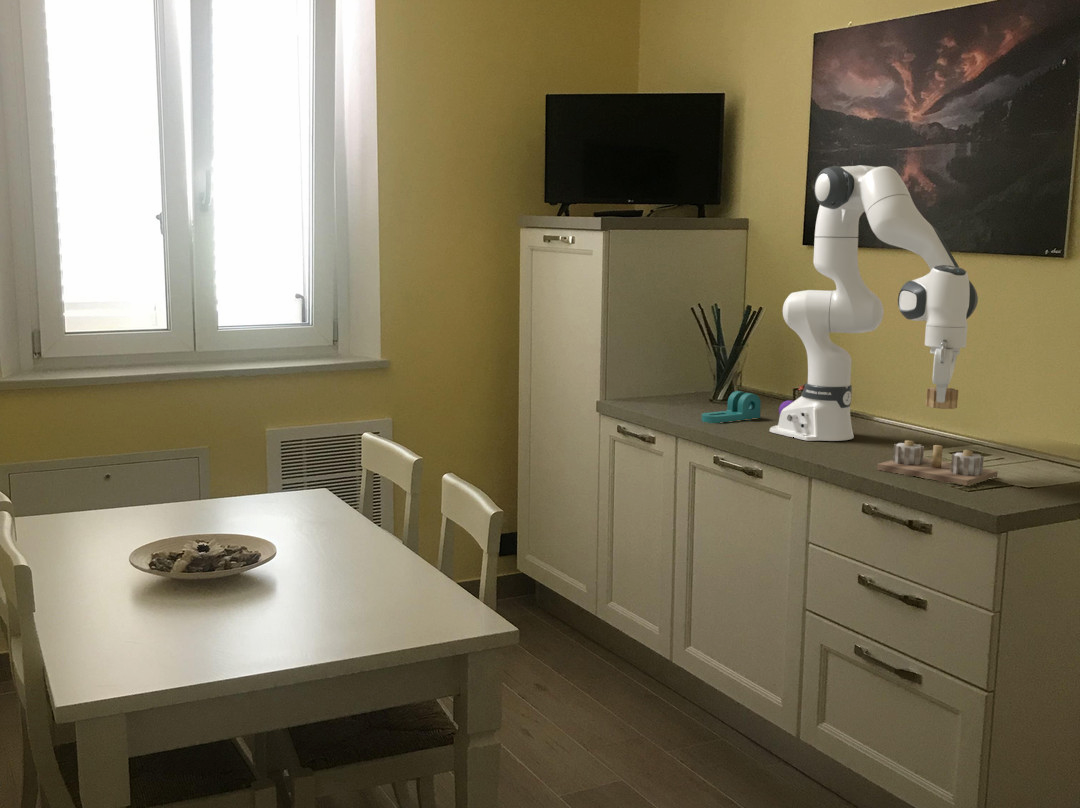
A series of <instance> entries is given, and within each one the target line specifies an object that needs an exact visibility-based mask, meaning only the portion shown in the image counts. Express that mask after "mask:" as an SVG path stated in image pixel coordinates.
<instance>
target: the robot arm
mask: <svg viewBox="0 0 1080 808" xmlns="http://www.w3.org/2000/svg"><path fill="white" fill-rule="evenodd" d="M814 181H815V182H814V186H813V191H814V197H815V200H816V202H817V203H818V205H819V207H818V210H817V215H816V221H815V229H814V242H813V245H814V246H813V266H814V268H815V270H816V271H817V273H820V275H823V276H824V277H826V278H828V279H830V280H832V281H833V282H834V284H835V288H836V289H835V290H826V289H825V290H820V289H818V290H817V289H807V290H800V291H795V292H790V294H789V295H788V296H787V298H786V299H785V300H784V302H783V305H782V318H783V320H784V322H785V324H786V325H787V327H789V328H790V329H791V330H792V331H794V332H795V333H796V334H797V336H798V337H799V338H800V340H801V341H802V344H803V346H804V348H805V350H806V351H805V352H806V357H807V382H806V383H804V384H803V385H799V386H798V387H799V388H798V389H797V390H798V391H802V392H801V393H800V395H801V396H799V397H798V398H796V399H795V400H793V401H794V402H792V403H791V404H789V405H788V406H787V407H785V408H784V409H783V410H782V411H781V414H779V418H778V423H777V425H773V426H771V427H770V428H769V432H770V433H773V434H777V435H781V436H785V437H788V438H789V437H790V438H793V437H794V439H798V440H803V441H807V442H808V441H809V442H813V441H815V442H816V441H820V442H821V441H823V442H825V441H826V442H827V441H828V442H835V441H836V442H837V441H838V442H839V441H841V442H842V441H848V440H852V439H854V438H855V437H854V436H855V435H854V433H853V429H852V427H853V426H852V419H851V402H852V394H853V393H852V392H853V389H852V388H853V386H852V384H851V380H852V379H851V375H852V362H853V361H852V357H851V354H850V353H849V352H848V351H847V350H846V349H844V348H843V347H841V346H839V345H837V344H836V343H834V342H833V341H832V340H831V338H830V334H831V333H838V334H839V333H841V334H861V333H862V334H863V333H868V332H874V331H875V330H877V328H878V327H880V325H881V323H882V321H883V320H884V319H883V318H884V312H885V309H884V305H883V303H882V300H881V299H880V297H878V296H877V294H876V293H874V292H873V291H872V290H870V288H869V287H868V286H867V285H866V283H865V282H864V280H863V278H862V276H861V273H860V268H859V257H858V256H859V254H858V251H859V247H858V246H859V224H860V217H861V216H862V215H863V213H864V212H865V215H866V218H867V219H866V220H867V221H868V224H869V227H870V229H871V231H872V233H873V234H874V235H875V237H876V238H877V239H878V240H879V241H881V242H883V243H885V244H887V245H889V246H894V247H897V248H900V249H905V250H907V251H909V252H912V253H913V254H916V255H917V256H919V257H921V258H922V259H923V261H924V262H925V263H926V265H927V267H928V269H929V270H930V271H929V272H928V273H926V275H925V274H924V276H920V277H917V278H916V279H912V280H907V281H906V282H905V283H904V284H903V285H902V286H901V288H900V290H899V292H898V297H897V306H898V309H899V312H900V313H901V314H902V316H903V317H904V318H905V319H907V320H910V321H915V322H917V321H919V322H921V321H926V323H925V334H924V346H925V347H929V348H930V349H929V354H933V355H934V356H933V365H932V379H931V380H932V384H933V385H936V390H937V399H936V401H937V402H942V403H943V402H945V395H946V388H949V384H950V383H951V381H952V377H953V375H954V371H955V367H956V362H957V356H958V355H960V353H961V352H960V350H961V349H963V348H966V347H967V340H968V339H967V337H968V321H967V320H968V319H969V318H970V317H971V316H972V315H973V313H974V312H975V311H976V308H977V307H978V303H979V299H978V298H979V297H978V293H977V289H976V288H975V286H974V284H973V283H972V282H971V280H969V278H970V277H969V273H968V272H967V270H965V269H964V268H962V267H960V266H959V265H958V263H957V261H956V259H955V258H954V256H953V254H952V252H951V251H950V249H949V246H948V245H947V243H946V242H945V240H944V238H943V237H942V236H941V234H940V232H939V231H938V229H937V228H935V226H934V225H932V224H931V223H930V222H929V221H928V220H927V219H926V218H925V217H924V216H923V215H922V214H921V212H920V211H919V209H918V208H917V206H916V205H915V202H914V201H913V198H912V196H911V193H910V191H909V189H908V187H907V185H906V183H905V182H904V180H903V179H902V177H901V175H900V174H899V173H898V172H897V170H895V169H894V168H893V167H891V166H886V165H884V166H883V165H882V166H872V165H860V164H859V165H852V166H851V165H848V166H847V165H846V166H839V165H834V166H829V167H826V168H823V169H822V170H821V171H820V172H819V173H818V174H817V176H816V178H815V180H814Z"/></svg>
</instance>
